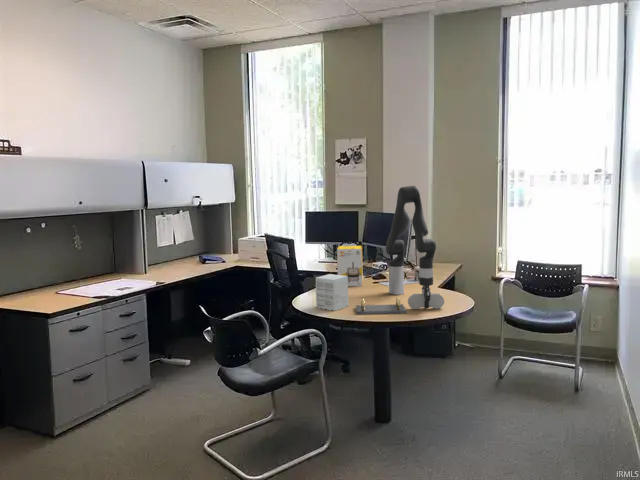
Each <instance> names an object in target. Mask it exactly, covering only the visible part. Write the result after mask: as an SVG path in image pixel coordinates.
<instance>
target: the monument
mask: <svg viewBox="0 0 640 480" xmlns="http://www.w3.org/2000/svg"><path fill="white" fill-rule="evenodd" d="M419 268H420V267H419V266H414V267H413V270H414V278H409V279H408V278H407V279H404V285H411V284H412V285H413V284H419ZM379 284H380V285H383V286H386V287H389V281H382V282H379Z"/></svg>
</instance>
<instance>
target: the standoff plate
mask: <svg viewBox="0 0 640 480" xmlns="http://www.w3.org/2000/svg"><path fill="white" fill-rule="evenodd" d="M365 302H366V301H365V298H360V305H359V304H357V305H355V309H356V314H357V315H389V314H390V315H391V314H407V309H406V307H405V305H404V304H402V303H401V300H400V299H399V297H395V304H366V303H365Z"/></svg>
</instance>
